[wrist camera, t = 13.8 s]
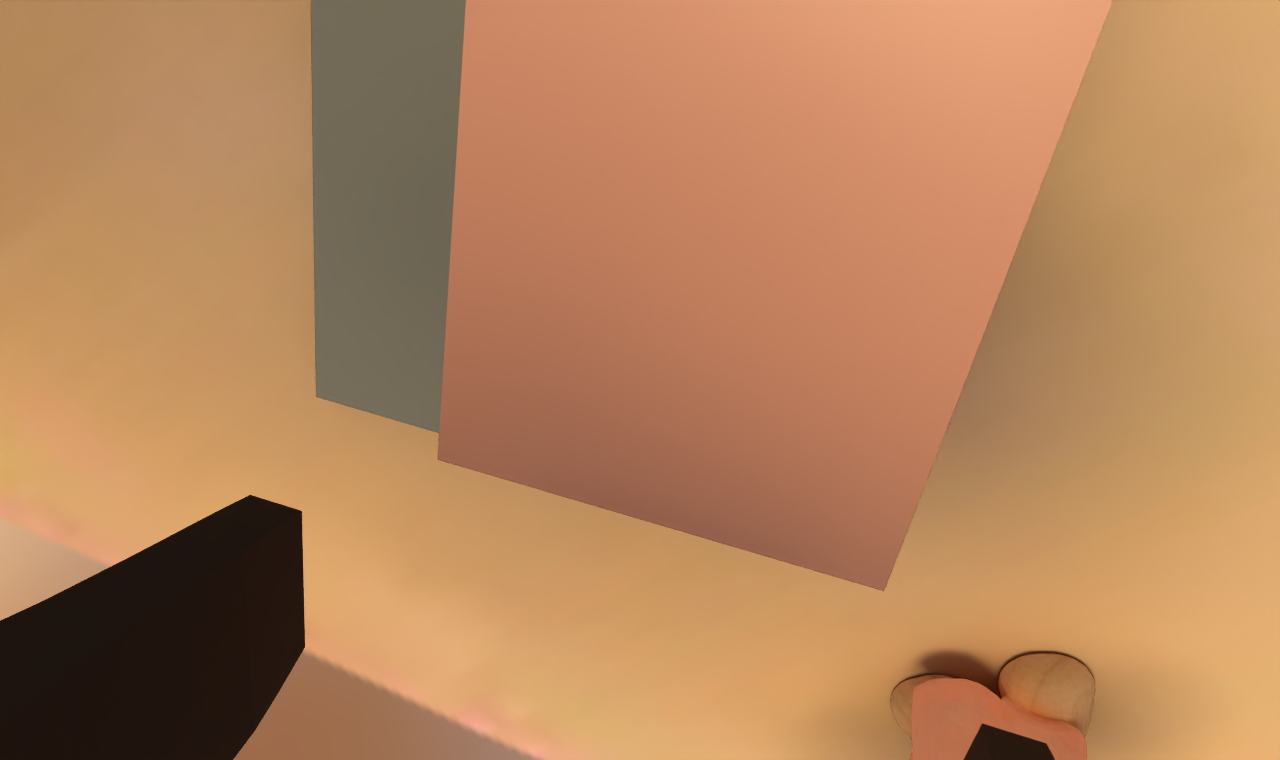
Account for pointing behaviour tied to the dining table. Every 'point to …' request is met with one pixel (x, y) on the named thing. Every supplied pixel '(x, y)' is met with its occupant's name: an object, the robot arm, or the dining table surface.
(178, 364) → the dining table surface
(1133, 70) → the dining table surface
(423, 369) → the baseplate
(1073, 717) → the grandmother figurine
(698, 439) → the terracotta brick
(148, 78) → the dining table surface
